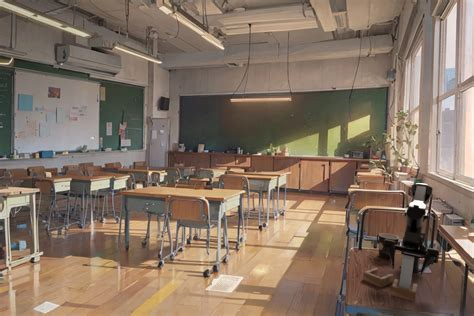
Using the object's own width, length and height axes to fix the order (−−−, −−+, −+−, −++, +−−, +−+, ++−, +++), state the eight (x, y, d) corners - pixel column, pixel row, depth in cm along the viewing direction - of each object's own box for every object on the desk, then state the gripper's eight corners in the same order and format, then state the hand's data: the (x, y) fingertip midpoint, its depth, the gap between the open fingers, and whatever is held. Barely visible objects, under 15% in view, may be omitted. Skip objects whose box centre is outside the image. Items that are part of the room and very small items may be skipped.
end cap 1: (374, 277, 153) (375, 267, 153) (392, 284, 148) (393, 274, 147) (362, 281, 148) (363, 272, 148) (381, 289, 142) (382, 279, 142)
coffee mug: (398, 262, 173) (401, 240, 172) (378, 259, 174) (380, 237, 173) (392, 253, 184) (394, 232, 183) (373, 250, 185) (375, 230, 184)
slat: (399, 289, 142) (403, 254, 140) (409, 292, 140) (414, 257, 139) (398, 293, 138) (402, 258, 136) (408, 296, 136) (413, 260, 135)
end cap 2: (393, 288, 144) (394, 278, 143) (416, 294, 140) (417, 284, 140) (390, 297, 137) (392, 286, 136) (414, 303, 133) (415, 292, 133)
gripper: (386, 218, 146) (378, 254, 138) (442, 227, 137) (437, 267, 129) (386, 233, 154) (379, 269, 145) (439, 244, 145) (435, 282, 137)
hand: (406, 271), depth 139 cm, fingers open, 9 cm apart
